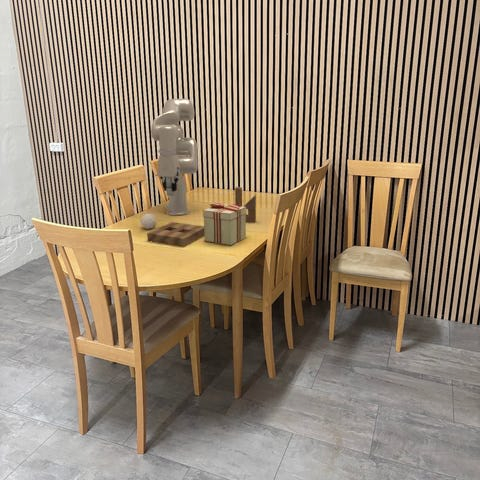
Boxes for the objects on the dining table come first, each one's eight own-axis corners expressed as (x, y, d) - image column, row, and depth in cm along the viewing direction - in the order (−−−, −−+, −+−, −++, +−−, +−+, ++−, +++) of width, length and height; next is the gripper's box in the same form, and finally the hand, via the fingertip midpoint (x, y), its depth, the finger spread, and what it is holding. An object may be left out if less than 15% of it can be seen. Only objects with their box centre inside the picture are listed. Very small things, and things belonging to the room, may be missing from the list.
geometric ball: (145, 233, 247) (138, 219, 248) (159, 226, 248) (152, 212, 249) (144, 230, 239) (137, 216, 240) (159, 222, 241) (151, 209, 242)
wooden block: (254, 222, 252) (254, 188, 246) (234, 221, 254) (233, 188, 248) (256, 221, 255) (255, 187, 250) (236, 219, 258) (235, 186, 252)
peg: (165, 195, 236) (163, 172, 233) (169, 193, 239) (168, 171, 236) (171, 195, 234) (170, 173, 231) (176, 194, 238) (174, 172, 235)
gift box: (249, 234, 233) (249, 199, 228) (233, 246, 217) (233, 209, 212) (218, 230, 240) (217, 196, 234) (200, 242, 224) (198, 205, 218)
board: (147, 241, 226) (147, 233, 225) (172, 229, 243) (171, 221, 242) (183, 247, 217) (183, 238, 216) (206, 234, 234) (206, 226, 233)
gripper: (149, 152, 231) (151, 190, 237) (178, 154, 224) (180, 193, 229) (158, 151, 238) (161, 188, 243) (187, 152, 231) (189, 190, 236)
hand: (170, 190), depth 236 cm, fingers closed on peg, 3 cm apart
